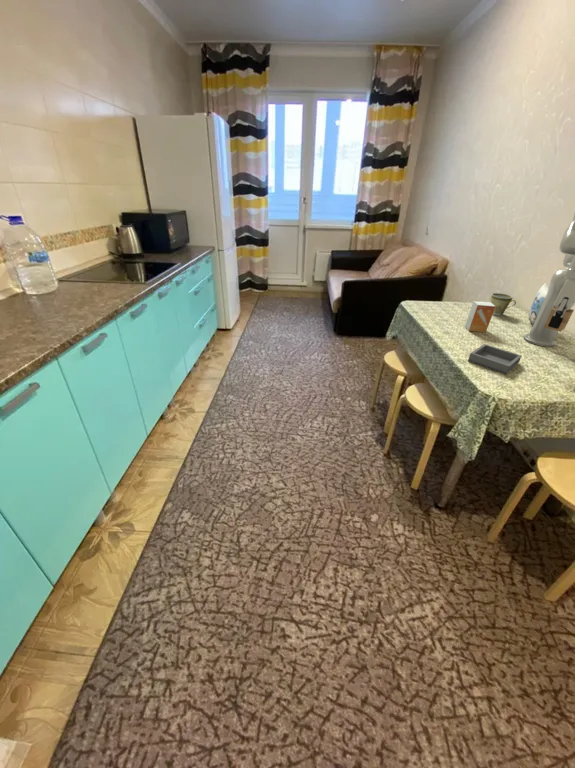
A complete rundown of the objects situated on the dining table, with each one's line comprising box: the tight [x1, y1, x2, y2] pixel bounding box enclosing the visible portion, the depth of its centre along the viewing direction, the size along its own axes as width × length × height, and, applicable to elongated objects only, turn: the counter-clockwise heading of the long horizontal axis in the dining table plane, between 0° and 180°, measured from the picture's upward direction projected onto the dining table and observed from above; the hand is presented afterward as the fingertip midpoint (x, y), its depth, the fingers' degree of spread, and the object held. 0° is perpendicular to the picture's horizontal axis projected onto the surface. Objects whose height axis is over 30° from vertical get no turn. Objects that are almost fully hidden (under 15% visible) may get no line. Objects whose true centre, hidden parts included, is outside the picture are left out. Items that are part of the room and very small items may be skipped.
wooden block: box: [544, 306, 575, 333], centre depth 120 cm, size 6×6×7 cm
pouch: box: [528, 282, 549, 326], centre depth 159 cm, size 8×19×20 cm, turn 154°
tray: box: [467, 343, 522, 376], centre depth 129 cm, size 14×14×4 cm
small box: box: [464, 300, 496, 333], centre depth 156 cm, size 8×6×13 cm
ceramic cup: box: [490, 292, 517, 317], centre depth 178 cm, size 13×10×10 cm
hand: (555, 324), depth 121 cm, fingers closed on wooden block, 5 cm apart
